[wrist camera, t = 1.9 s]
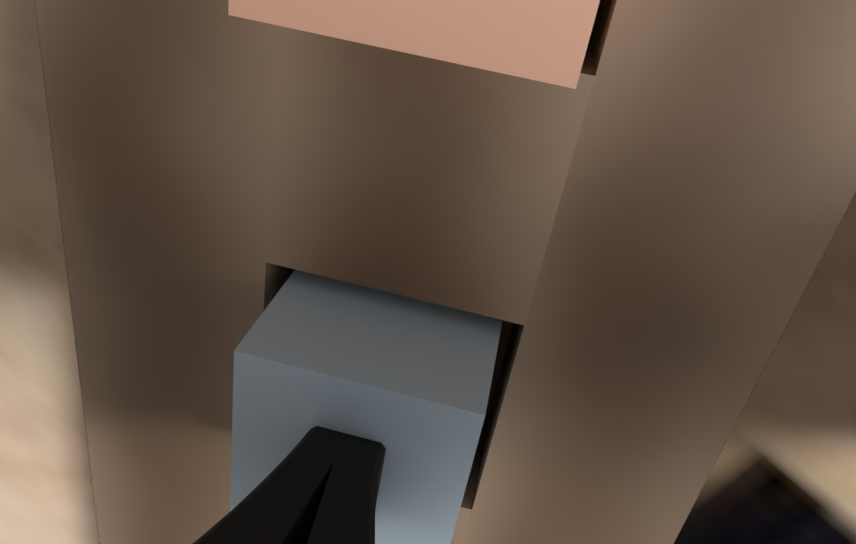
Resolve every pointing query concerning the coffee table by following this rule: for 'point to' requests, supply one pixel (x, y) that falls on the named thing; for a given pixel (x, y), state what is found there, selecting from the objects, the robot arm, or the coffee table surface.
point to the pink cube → (451, 30)
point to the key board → (448, 237)
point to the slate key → (367, 394)
